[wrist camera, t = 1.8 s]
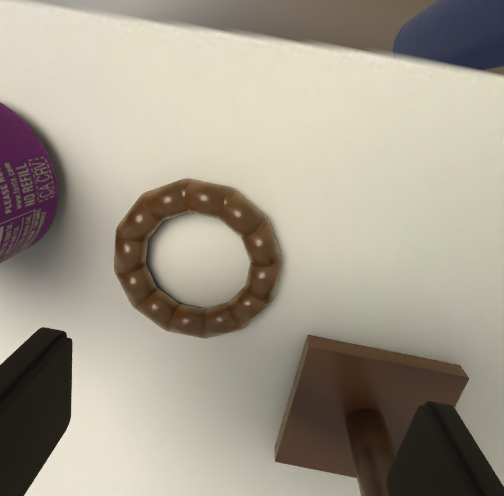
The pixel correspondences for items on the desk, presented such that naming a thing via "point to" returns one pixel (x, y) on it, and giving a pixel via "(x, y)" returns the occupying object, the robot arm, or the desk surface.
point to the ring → (210, 204)
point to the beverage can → (23, 186)
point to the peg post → (358, 408)
